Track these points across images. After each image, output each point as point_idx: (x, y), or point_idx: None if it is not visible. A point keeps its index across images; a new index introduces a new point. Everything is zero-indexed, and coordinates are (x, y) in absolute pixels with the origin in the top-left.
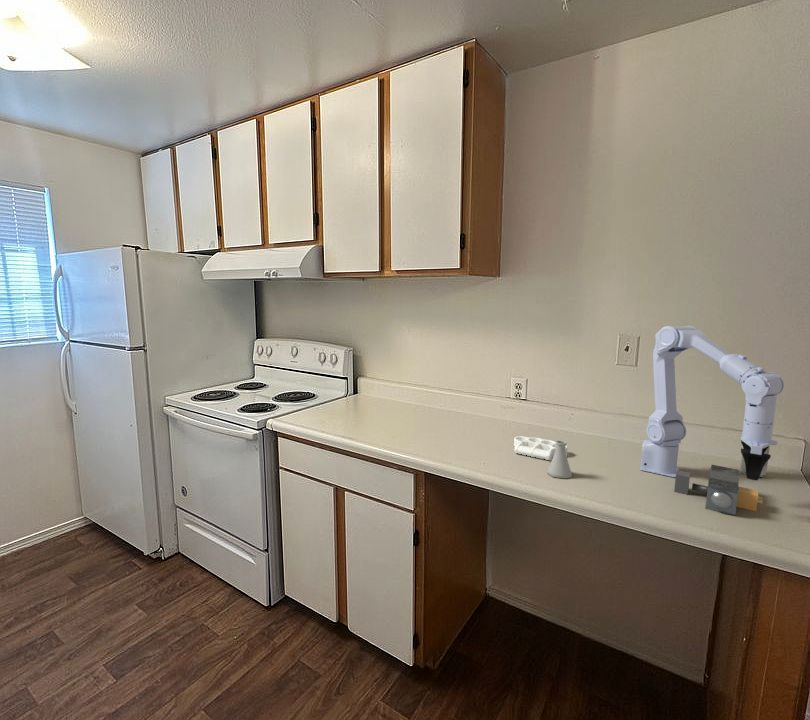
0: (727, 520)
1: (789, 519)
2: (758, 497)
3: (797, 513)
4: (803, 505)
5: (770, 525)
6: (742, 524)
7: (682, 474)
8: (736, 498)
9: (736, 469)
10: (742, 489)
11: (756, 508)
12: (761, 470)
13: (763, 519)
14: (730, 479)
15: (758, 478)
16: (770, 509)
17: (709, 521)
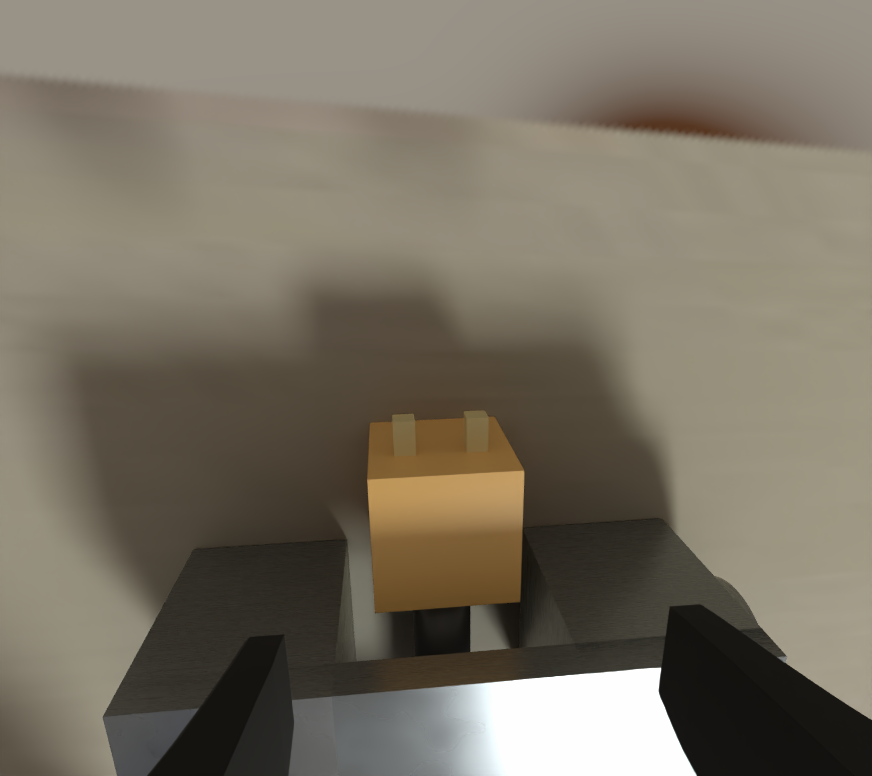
0: (763, 546)
1: (506, 214)
2: (414, 447)
3: (320, 147)
4: (51, 79)
5: (703, 334)
6: (779, 475)
7: None
8: (735, 603)
9: (110, 732)
10: (434, 579)
11: (498, 425)
12: (847, 707)
13: (621, 373)
14: (520, 733)
15: (718, 618)
16: (382, 332)
17: (828, 616)
